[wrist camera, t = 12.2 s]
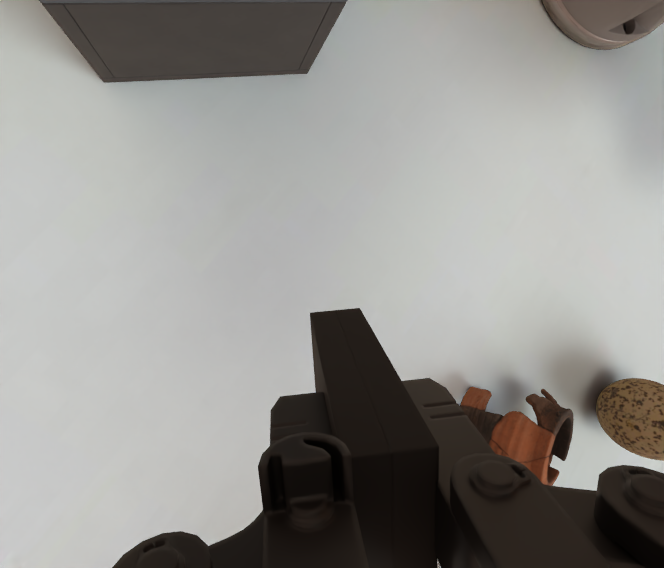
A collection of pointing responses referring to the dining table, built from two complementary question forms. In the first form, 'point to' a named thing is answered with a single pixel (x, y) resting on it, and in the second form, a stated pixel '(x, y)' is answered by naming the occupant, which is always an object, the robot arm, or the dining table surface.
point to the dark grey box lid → (167, 0)
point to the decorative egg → (634, 416)
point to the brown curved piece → (524, 431)
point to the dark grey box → (196, 37)
